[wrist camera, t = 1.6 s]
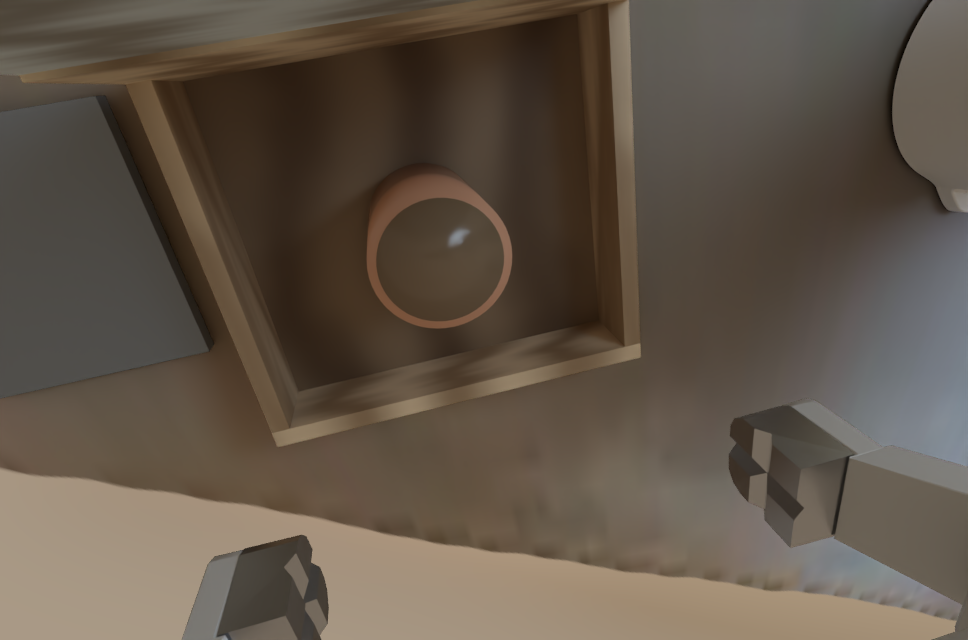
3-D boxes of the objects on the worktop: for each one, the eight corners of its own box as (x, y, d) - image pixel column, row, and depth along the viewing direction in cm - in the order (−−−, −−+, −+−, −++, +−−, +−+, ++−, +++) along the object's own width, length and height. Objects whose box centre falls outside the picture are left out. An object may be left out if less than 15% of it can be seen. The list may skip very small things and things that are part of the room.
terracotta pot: (469, 152, 29) (501, 174, 22) (487, 260, 32) (521, 312, 24) (354, 175, 28) (348, 205, 21) (383, 283, 31) (386, 343, 24)
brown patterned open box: (586, -8, 28) (1320, -337, 6) (607, 324, 36) (947, 665, 15) (159, 62, 25) (-1009, -75, 4) (290, 400, 34) (148, 936, 13)
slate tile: (105, 95, 26) (95, 95, 25) (213, 343, 32) (209, 351, 31) (-165, 141, 24) (-186, 143, 23) (2, 391, 30) (-9, 400, 29)
